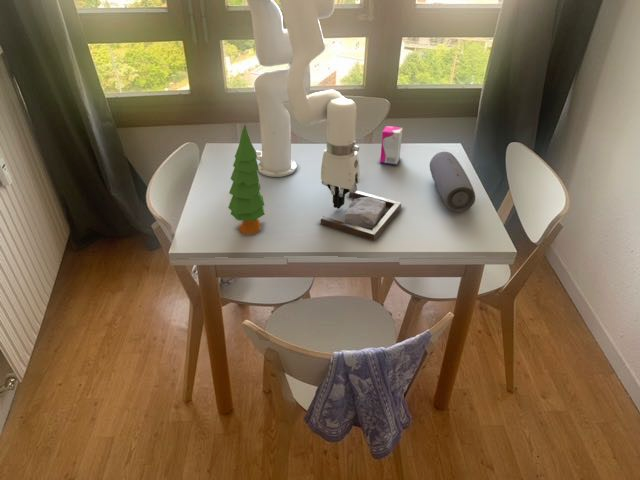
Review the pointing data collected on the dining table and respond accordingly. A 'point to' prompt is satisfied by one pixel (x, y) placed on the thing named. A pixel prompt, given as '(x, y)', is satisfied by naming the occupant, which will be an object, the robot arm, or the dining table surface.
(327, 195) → the dining table surface
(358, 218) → the stone block
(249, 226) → the decorative tree
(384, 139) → the supplement box
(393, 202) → the frame
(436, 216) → the dining table surface
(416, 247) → the dining table surface
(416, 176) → the dining table surface
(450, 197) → the bluetooth speaker
